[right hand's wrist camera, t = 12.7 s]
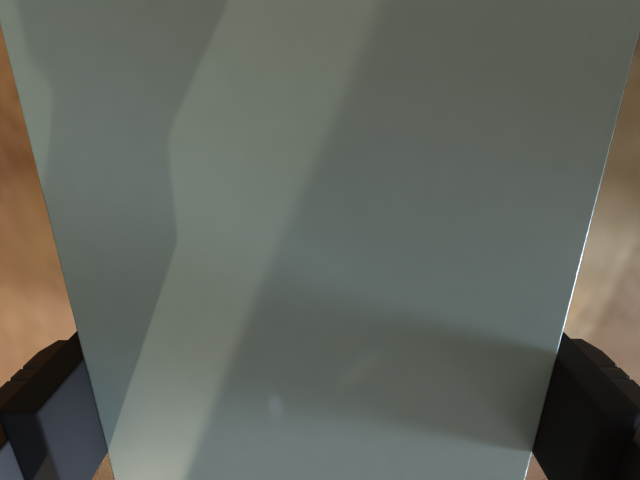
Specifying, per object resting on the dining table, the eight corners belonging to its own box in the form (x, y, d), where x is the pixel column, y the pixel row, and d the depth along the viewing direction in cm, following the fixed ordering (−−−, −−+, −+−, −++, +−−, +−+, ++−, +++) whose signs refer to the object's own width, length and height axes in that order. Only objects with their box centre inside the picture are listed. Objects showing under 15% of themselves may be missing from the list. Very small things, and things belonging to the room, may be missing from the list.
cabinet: (151, -262, 12) (-323, -1250, 3) (492, -261, 12) (972, -1251, 3) (214, 330, 19) (125, 530, 10) (424, 330, 19) (512, 531, 10)
